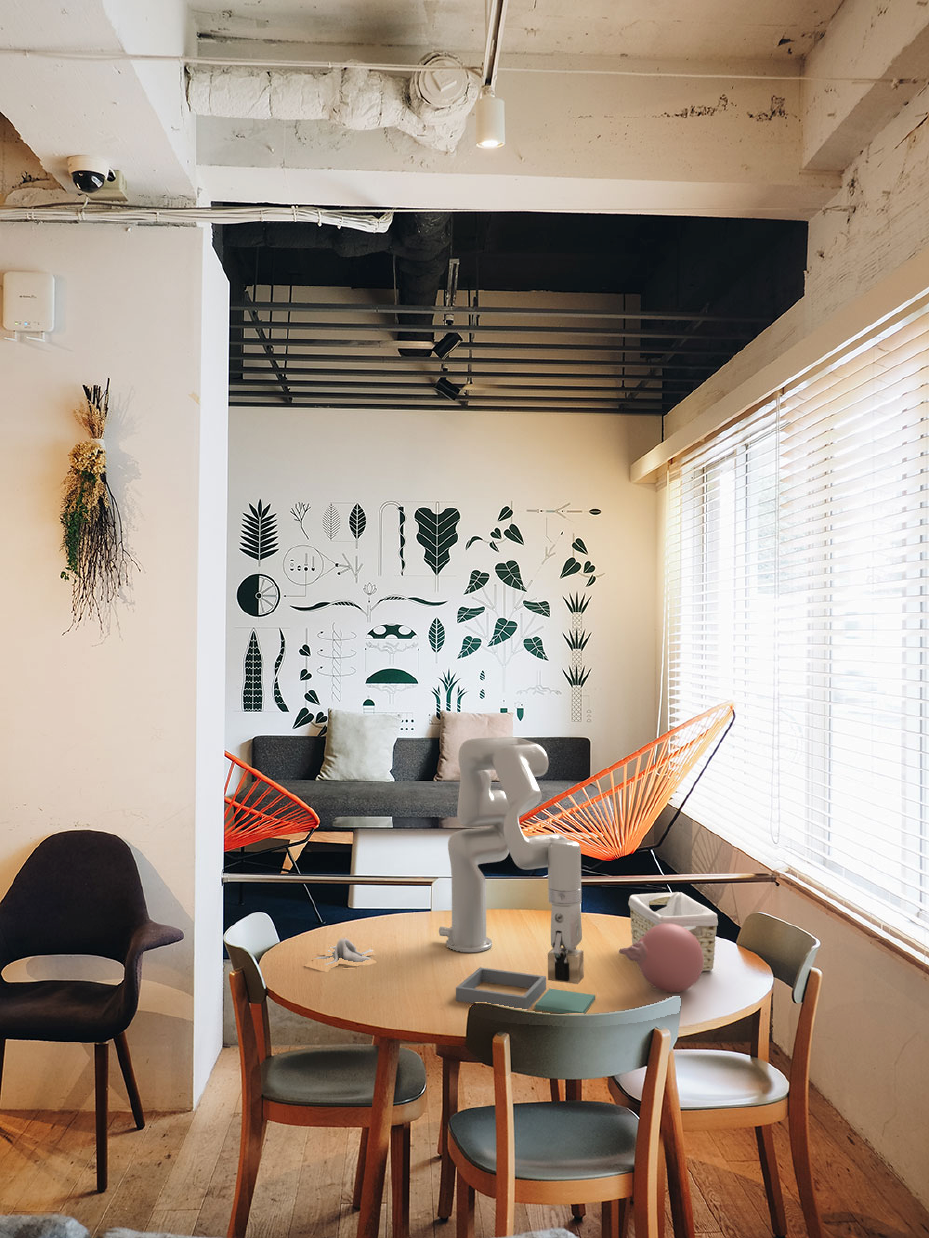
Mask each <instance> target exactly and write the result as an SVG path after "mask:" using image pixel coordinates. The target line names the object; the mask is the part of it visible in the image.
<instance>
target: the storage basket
mask: <svg viewBox="0 0 929 1238" xmlns="http://www.w3.org/2000/svg"><path fill="white" fill-rule="evenodd" d="M650 905H651V906H652V905H654V906H656V905H657V906H659V905H660V906H661V905H663V906H664V907H662V908H660V909H658V910H656V911H653V910H652V909H651V908H650ZM628 906H629V909H630V928H631V929H630V932H631V944H632V945H633V944H635V943H637V942H638V941H639V940H640V939H641V938H642V937H643V936H644V935H645V933H646V932H647V931H649V930H650V929H651V928H653V927H655V926H657V925H660V924H676V925H679V926H681V927H684V928H685V929H687V930H688V931H690V932H691V933H692V934H693V935H694V936H695V938H696V939H697V940H698V942H699V944H700V946H701V948H702V952H703V958H704V963H703V969H702V972H710V971H712V970H714V963H715V961H714V960H715V955H716V953H715V950H716V935H717V926H719V921H718V914H717V913H716V912H714V911H712V910H711V909H709V908H708V907H707V906H705V905H703V904H701V903H699V902H698V901H696V900H694V899H693V898H692V897H690V896H688V895H686V894H685V893H683V892H681V891H680V892H679V891H675V892H656V893H653V892H652V893H640V894H631V895H630V896H629V900H628Z"/></svg>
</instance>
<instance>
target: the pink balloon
mask: <svg viewBox="0 0 929 1238" xmlns="http://www.w3.org/2000/svg"><path fill="white" fill-rule="evenodd" d="M618 953H619V955H620V954H621V955H625V956H626V958H627V959H628V961H630V962H633V961H635V962H636V963H637V965H638V967H639V971H640V972H641V974H642V976H643V977H644V978H645V980H646V981H647V982H648V983H649V984H650V985H651V986H653V987H654V988H656V989H657V990H659V991H662V992H665V993H680V992H684V991H686V990H688V989H690V988H691V987H692V986H694V985H695V984H696V983H697V981H698V980H699V979H700V977H701V974H702V972H703V971H702V969H703V963H704V958H703V952H702V948H701V946H700V944H699V942H698V940H697V939H696V938H695V936H694V935H693V934H692V933H691V932H690V931H688V930H687V929H685V928H684V927H681V926H679V925H676V924H660V925H657V926H655V927H653V928H651V929H650V930H649V931H647V932H646V933H645V935H644V936H643V937H642V938H641V939H640V940H639V941H638V942H637V943H635V944H632V945H630V946H629V947H623V948H620V949H619V950H618Z"/></svg>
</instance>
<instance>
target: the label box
mask: <svg viewBox="0 0 929 1238" xmlns="http://www.w3.org/2000/svg"><path fill="white" fill-rule="evenodd" d="M561 953H563V955H564V954H565V951H561ZM584 962H585V961H584V950H582V949H577V948H576V949H573V950H572V951H569V949H568V962H567V963H569V981H560V980H556V979H555V955H554V949H553V948H552V949H551V950H550V951H548V952H547V981H551V982H559V983H566V984H575V985H578V984H580V982H581V981H582V980H583V979H584V976H585V970H584V968H585V967H584V966H585V965H584Z"/></svg>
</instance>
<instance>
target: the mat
mask: <svg viewBox="0 0 929 1238" xmlns="http://www.w3.org/2000/svg"><path fill="white" fill-rule="evenodd" d="M595 1001H596V994H591V993H590V994H589V993H583V992H576V991H568V990H564V989H563V990H562V989H557V988H556V989H555V988H548V990H547V991H546V992H544V994H543V995H542V996H541V998H540V999H539V1000H538V1001H537V1002H536V1003H535V1004H534V1009H535V1011H542V1012H551V1013H556V1012H557V1014H562V1013H585V1014H586V1013H587V1011H588V1010H589V1008H590V1007H591V1006H592V1005H591V1004H593V1003H594V1002H595Z"/></svg>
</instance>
